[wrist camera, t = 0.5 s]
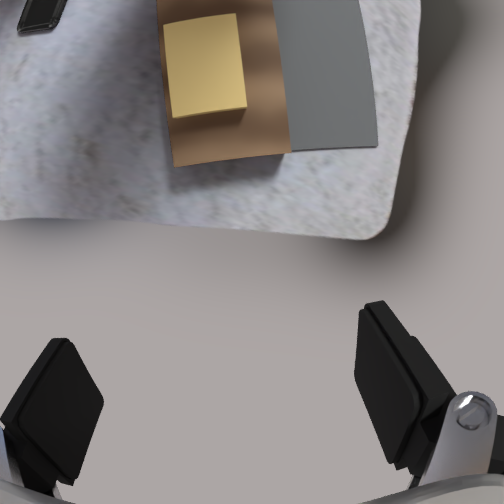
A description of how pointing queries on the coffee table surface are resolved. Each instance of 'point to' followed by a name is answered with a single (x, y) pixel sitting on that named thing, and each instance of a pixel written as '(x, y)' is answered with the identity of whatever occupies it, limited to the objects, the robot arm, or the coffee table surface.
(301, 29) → the mat
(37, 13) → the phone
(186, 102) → the tile
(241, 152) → the brown wooden block
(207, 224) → the coffee table surface
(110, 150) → the coffee table surface
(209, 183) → the coffee table surface
